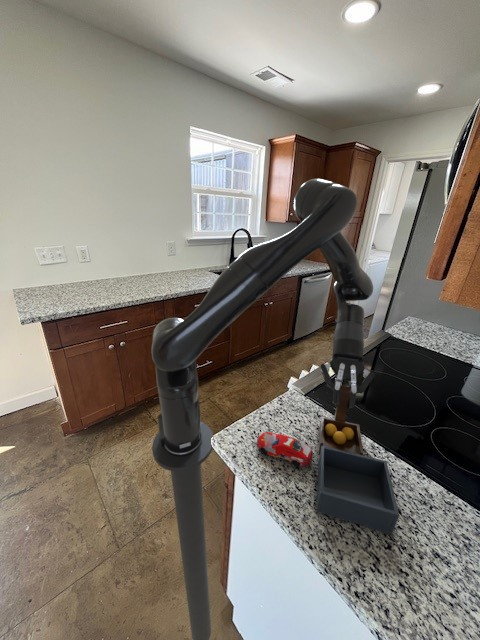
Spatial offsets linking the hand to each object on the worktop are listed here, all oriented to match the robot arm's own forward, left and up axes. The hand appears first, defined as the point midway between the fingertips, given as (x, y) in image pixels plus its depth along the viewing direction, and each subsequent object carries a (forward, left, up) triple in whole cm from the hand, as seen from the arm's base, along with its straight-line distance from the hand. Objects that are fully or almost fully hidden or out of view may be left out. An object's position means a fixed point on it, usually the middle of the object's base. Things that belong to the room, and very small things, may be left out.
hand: (343, 407), depth 65 cm
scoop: (0, -2, -9) cm, 9 cm away
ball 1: (-2, -1, -7) cm, 7 cm away
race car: (-13, -10, -9) cm, 19 cm away
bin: (+2, -16, -9) cm, 18 cm away
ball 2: (0, -3, -7) cm, 7 cm away
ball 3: (+2, -1, -7) cm, 7 cm away
